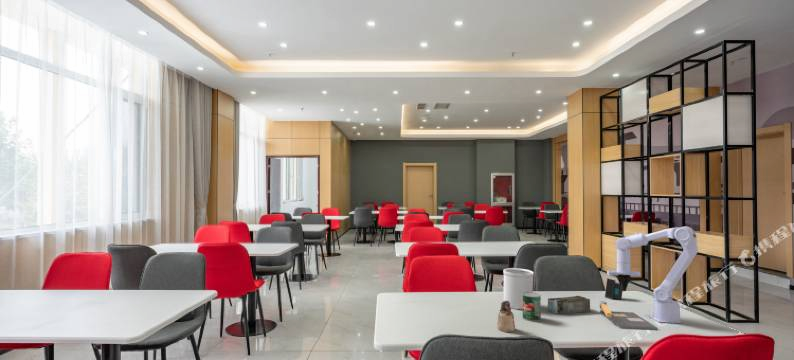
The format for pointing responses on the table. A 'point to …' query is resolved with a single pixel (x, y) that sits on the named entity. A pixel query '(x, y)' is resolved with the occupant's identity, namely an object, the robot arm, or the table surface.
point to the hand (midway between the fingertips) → (623, 290)
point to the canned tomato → (531, 306)
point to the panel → (629, 320)
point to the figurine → (506, 318)
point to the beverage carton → (569, 305)
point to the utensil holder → (517, 285)
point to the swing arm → (605, 308)
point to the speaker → (613, 290)
